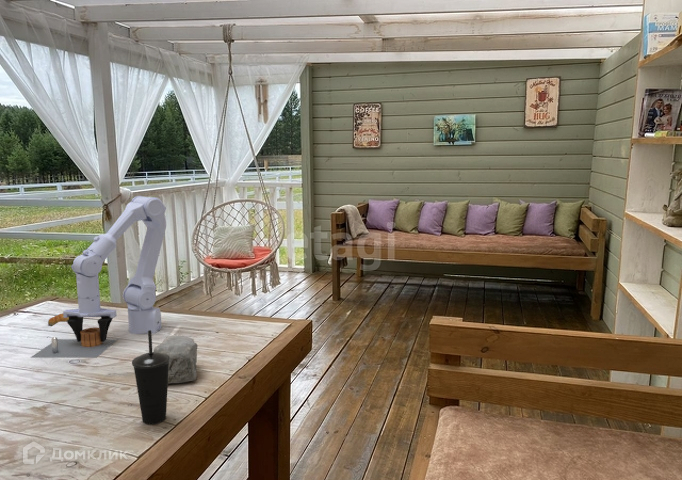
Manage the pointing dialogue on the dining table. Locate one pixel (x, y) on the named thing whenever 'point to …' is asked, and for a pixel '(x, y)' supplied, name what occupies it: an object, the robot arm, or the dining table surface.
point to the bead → (90, 337)
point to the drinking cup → (152, 384)
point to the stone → (180, 358)
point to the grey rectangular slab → (74, 349)
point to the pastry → (57, 319)
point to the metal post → (54, 345)
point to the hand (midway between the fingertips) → (92, 340)
